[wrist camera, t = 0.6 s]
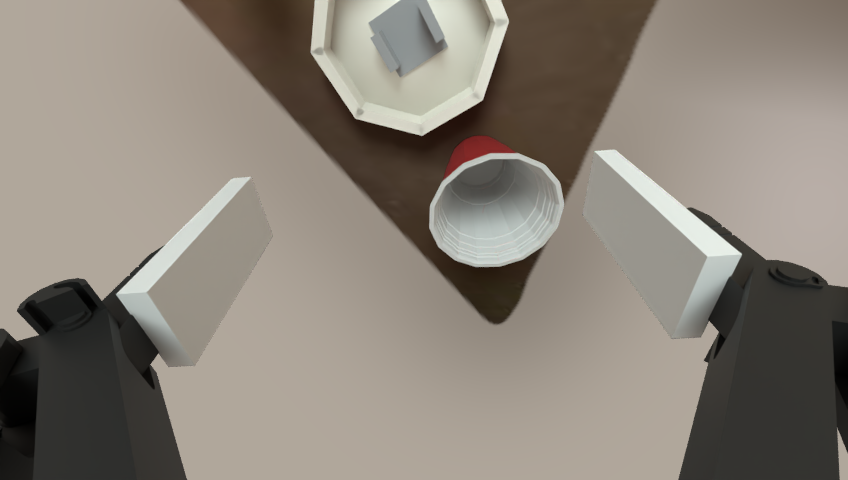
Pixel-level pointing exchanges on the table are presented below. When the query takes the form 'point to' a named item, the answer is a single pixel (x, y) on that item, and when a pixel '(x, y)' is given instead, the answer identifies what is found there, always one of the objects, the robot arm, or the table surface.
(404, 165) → the table surface
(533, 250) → the plastic cup
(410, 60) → the white octagonal tray
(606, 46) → the table surface
